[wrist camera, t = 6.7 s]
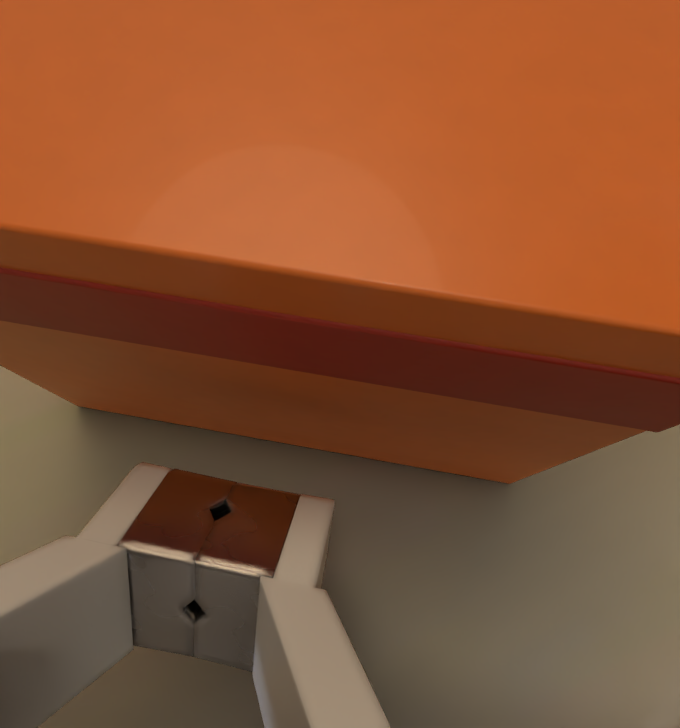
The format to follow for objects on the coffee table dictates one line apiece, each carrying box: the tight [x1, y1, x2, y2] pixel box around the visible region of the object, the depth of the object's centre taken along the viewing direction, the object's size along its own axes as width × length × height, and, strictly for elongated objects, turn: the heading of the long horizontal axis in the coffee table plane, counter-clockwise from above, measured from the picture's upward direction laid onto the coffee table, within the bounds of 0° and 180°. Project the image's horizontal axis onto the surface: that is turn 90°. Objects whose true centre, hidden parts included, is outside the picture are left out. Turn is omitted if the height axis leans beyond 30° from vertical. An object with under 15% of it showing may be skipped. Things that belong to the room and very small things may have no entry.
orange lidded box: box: [0, 0, 680, 484], centre depth 11 cm, size 11×13×9 cm
